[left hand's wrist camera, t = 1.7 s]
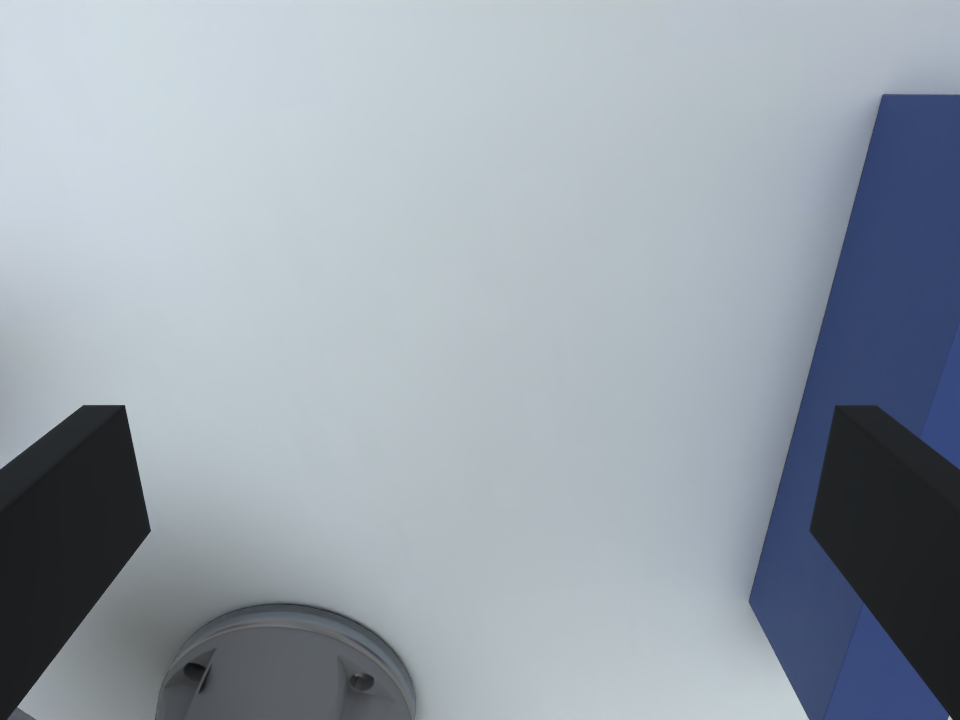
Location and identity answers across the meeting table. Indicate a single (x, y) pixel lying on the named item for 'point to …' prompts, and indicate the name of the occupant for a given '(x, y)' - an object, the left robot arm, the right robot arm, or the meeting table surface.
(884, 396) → the bar
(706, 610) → the meeting table surface
